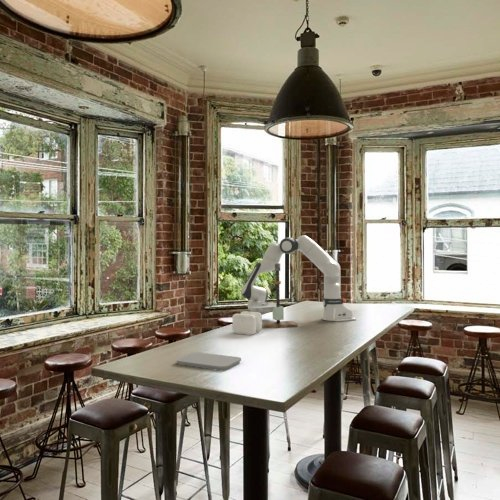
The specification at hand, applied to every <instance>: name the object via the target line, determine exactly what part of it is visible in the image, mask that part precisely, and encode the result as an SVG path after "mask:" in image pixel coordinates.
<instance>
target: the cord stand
mask: <svg viewBox="0 0 500 500" xmlns="http://www.w3.org/2000/svg"><path fill="white" fill-rule="evenodd" d="M274 271H275V280H274V285H275V287H276V288H275V289H276V291H275V294H276V295H275V299H276V300H275V304H276V307H280V306H281V304H280V303H281V302H280V296H281V295H280V293H281V292H280V284H282V282H281V280H280V272H281V263H279V264H275V270H274ZM298 327H299V324H298V323H297V322H296V321H294V320H274V321H262V329H277V328H278V329H279V328H282V329H283V328H298Z"/></svg>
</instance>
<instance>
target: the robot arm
mask: <svg viewBox="0 0 500 500" xmlns="http://www.w3.org/2000/svg"><path fill="white" fill-rule="evenodd" d="M296 251H300V252H301V253H302V254H303V255H304V256H305V257H306V258H307V259H308V260H309V261H310V262H312V263H313V265H315V267H317V269H318V270H320V272H321V273H323V299H322V305H323V311H322V316H321V320H323V321H328V322H330V321H331V322H347V321H356V320H357V317H356V316H353V311H352V309H351V308H350V307H348V306H347V305H346V304H345V303H346V302H347V300H346V298H343V297H342V296H341V295H342V294H341V292H342V291H341V289H342V288H341V286H342V285H341V284H342V283H341V279H342V278H341V265H340V264H339V262H338V261H336V260H334V259H333V258H332V257H331V256H330V255H329V253H327V252H326V250H324V249H323V247H321V246H320V245H319V244H318V243H317V242H315V241H314V240H313V239H312V238H310V237H309V236H307V235H300V236H299V237H297V238H296V239H295V238H294V237H285V238H282V240H280V242H279V243H277V242H271V243H270V244H269V245H268V247H267V248H266V251H265V253H264V256H263V258H261V260H260V261H259V262H257V263H255V265H254V267H253V268H252V271H250V274H249V276H248V277H247V279H246V281H245V283H244V284H243V286H242V287H241V290H240V294H241V296H242V297H243V298H244V299H248V302H247V306H246V307H247V310H248V311H249V312H258V313H261V315H262V316H263V315H265V314H268V313H273V306H276V303H274V302H271V301H268V297H269V292H268V290H267V289H266V288H265V287H262V286H258V285H254V284H255V282H256V280H257V278H258V276H259V275H260V274H263V273H268V272H272V271H275V264H280V261H281V257H282V255H283V254H285V255H290V254H294V253H295V252H296Z"/></svg>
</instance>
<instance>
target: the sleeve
mask: <svg viewBox="0 0 500 500" xmlns="http://www.w3.org/2000/svg"><path fill="white" fill-rule="evenodd" d="M284 309H285V307H284V306H282V305H280V307H276V306H273V312H272V320H274V321H277V320H280V321H285V318H284V314H285V313H284Z"/></svg>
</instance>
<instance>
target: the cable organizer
mask: <svg viewBox="0 0 500 500" xmlns="http://www.w3.org/2000/svg"><path fill="white" fill-rule="evenodd" d="M262 316H263V315H261V313H258V312H250V311H247V310H243V311H241V312H240V313H234V314H232V320H231V321H232V332H234V334H235V333H236V335H237V334H238V335H242V334H244V335H247V336H252V335H255V334H256V333H259V332H262V330H263V328H262V322H263V317H262Z"/></svg>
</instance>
